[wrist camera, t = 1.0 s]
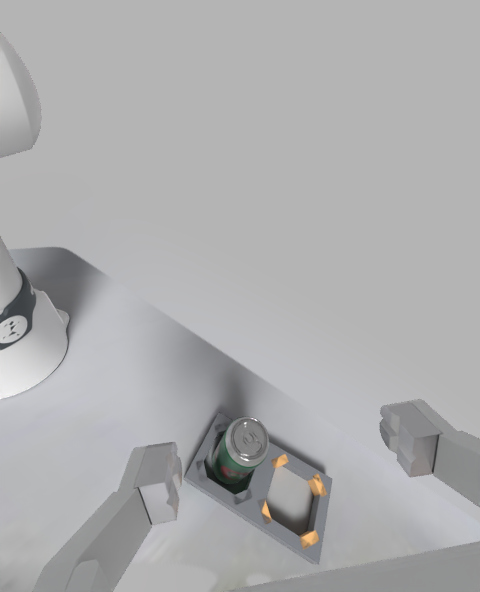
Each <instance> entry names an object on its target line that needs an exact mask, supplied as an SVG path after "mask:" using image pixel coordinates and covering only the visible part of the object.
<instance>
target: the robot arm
mask: <svg viewBox="0 0 480 592" xmlns="http://www.w3.org/2000/svg"><path fill="white" fill-rule="evenodd" d="M40 128H41V106H40V101H39V98H38V93H37V90H36V87H35V85H34V82H33V80H32V78H31V75H30V73H29V72H28V70H27V68H26V66H25V64H24V63H23V61H22V60H21V58H20V57H19V55H18V54H17V52H16V51H15V49H14V48H13V47H12V45H11V44H10V43H9V42H8V41H7V39H6V38H5V37H4V36H3V35H2V34H1V32H0V158H1V157H6V156H9V155H13V154H16V153H20V152H22V151H26V150H30V149H31V148H32V147H33V145H34V144H35V142H36V140H37V138H38V135H39V131H40ZM68 323H69V315H68V314H67V312H65V311H62V310H59V309H56V308H55V307H54V305H53V304H52V302H51V300H50V299H49V297H48V296H47V294H46V293H45V292H44V291H39V290H37V289H34V288H33V286H32V284H31V282H30V281H29V279H28V278H27V277H26V276H25V274H24V273H23V271H22V270H21V269H19V268H18V267H16V265H15V263H14V261H13V259H12V258H11V256H10V254H9V252H8V250H7V248H6V246H5V244H4V243H3V241H2V239H1V237H0V399H2V398H6V397H10V396H13V395H16V394H19V393H21V392H24V391H26V390H28V389H30V388H32V387H33V386H35V385H37V384H38V383H40V382H41V381H43V380H44V379H45V378H47V377H48V376H49V375H50V374H51V373H52V372H53V371H54V370H55V369H56V368H57V367H58V365H59V364H60V363H61V361H62V359H63V358H64V356H65V353H66V350H67V345H68V340H67V335H66V328H67V325H68ZM380 414H381V415H382V417H383V419H382V421H381V422H380V433H381V436H382V439H383V440H384V442H385V444H386V446H387V447H388V448H389V450H391V451H393V452H395V453H396V454H397V461H398V462H399V464H400V465H401V466H402V468H403V469H404V470H405V472H406V473H407V474H408V476H409V477H416V476H423V475H429V474H433V475H434V476H435V477H437V478H438V479H439V480H441V481H442V482H444V483H445V484H447V485H448V486H449V487H451V488H453V489H454V490H455V491H457V492H459V493H460V494H461V495H463V496H464V497H465V498H467V499H468V500H470V501H471V502H473V503H474V504H476V505H477V506H479V507H480V439H479V438H477V437H475V436H472V435H470V434H468V433H465V432H463V431H457V430H456V429H454V428H453V427H452V426H451V425H450V424H449V423H448V422H447V421H446V420H444V419H443V418H442V417H441V416H440V415H439V414H438V413H437V412H435V411H434V410H433V409H432V408H431V407H430V406H429V405H428V404H427V403H426V402H425V401H423V400H421V399H418V400H412V401H407V402H401V403H395V404H390V405H384V406H382V407H381V411H380ZM181 482H182V466H181V460H180V457H178V456H177V446H176V443H175V442H169V443H162V444H155V445H148V446H143V447H136V448H134V449H133V451H132V452H131V455H130V458H129V461H128V463H127V466H126V469H125V472H124V474H123V477H122V480H121V483H120V486H119V488H118V491H117V492H113V493H112V494H111V495H110V496H109V497H108V499H107V500H106V501H105V502H104V503H103V504H102V505H101V506H100V507H99V508H98V509H97V510H96V511H95V513H94V514H93V515H92V516H91V517H90V518H89V519H88V520H87V521H86V522H85V523H84V524H83V526H82V527H81V528H80V529H79V530H78V531H77V532H76V533H75V534H74V535H73V536H72V537H71V539H70V540H69V541H68V542H67V543H66V544H65V545H64V546H63V547H62V548H61V549H60V550H59V552H58V553H57V554H56V555H55V556H54V557H53V558H52V559H51V560H50V561H49V562H48V563H47V565H46V566H45V567H44V568H43V570H42V572H41V574H40V576H39V578H38V581H37V583H36V585H35V587H34V589H33V591H32V592H113V590H114V589H115V587H116V585H117V583H118V582H119V580H120V579H121V577H122V575H123V574H124V572H125V571H126V569H127V567H128V566H129V564H130V562H131V561H132V559H133V557H134V556H135V554H136V552H137V551H138V549H139V547H140V546H141V544H142V543H143V541H144V539H145V538H146V536H147V534H148V533H149V531H150V529H151V528H152V526H151V525H156V524H161V523H165V522H170V521H175V520H176V519H177V512H178V505H179V497H178V493H177V491H178V490H179V488H180V487H181ZM223 592H480V541H479V542H474V543H469V544H464V545H459V546H454V547H449V548H443V549H438V550H433V551H428V552H423V553H418V554H413V555H407V556H402V557H397V558H392V559H387V560H382V561H377V562H371V563H366V564H361V565H356V566H351V567H346V568H341V569H336V570H330V571H325V572H320V573H315V574H310V575H305V576H300V577H295V578H290V579H285V580H279V581H274V582H269V583H264V584H259V585H254V586H249V587H244V588H239V589H233V590H228V591H223Z"/></svg>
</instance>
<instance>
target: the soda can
mask: <svg viewBox="0 0 480 592" xmlns="http://www.w3.org/2000/svg"><path fill="white" fill-rule="evenodd" d="M268 451H269V437H268V433H267V431H266V429H265V427H264V425H263V424H262V423H261V422H260V421H258V420H257V419H255V418H252V417H240V418H237V419H235V420H234V421H233V422H232V423H231V424H230V425H229V426H228V428H227V430H226V432H225V433H224V435H223V437H222V439H221V441H220V442H219V444H218V446H217V448H216V450H215V451H214V454H213V457H212V468H213V471H214V473H215V475H216V477H217V478H218V479H219V480H220V481H221V482H223V483H226V484H235V483H237V482H239V481H240V480H241V479H243V478H244V477H245V476H246V475H248V474H249V473H250V472H251V471H252V470H254V469H255V468H256V467H257V466H258V465H260V464H261V463H262V462H263V461H264V460H265V458H266V456H267V454H268Z"/></svg>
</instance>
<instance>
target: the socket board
mask: <svg viewBox="0 0 480 592" xmlns="http://www.w3.org/2000/svg"><path fill="white" fill-rule="evenodd" d="M232 422H233V420H232V419H230V418H228V417H226V416H225V415H223V414H221V413H220V412H219V413H218V415H217V416H216V418H215V420H214V422H213V424H212V426H211V428H210V430H209V432H208V434H207V435H206V437H205V439H204V441H203V443H202V445H201V447H200V449H199V451H198V452H197V454H196V456H195V458H194V460H193V462H192V464H191V466H190V468H189V469H188V471H187V473H186V475H185V477H184V480H185V481H186V482H188V483H189V484H191V485H193V486H194V487H196V488H197V489H199V490H200V491H202V492H203V493H205V494H206V495H208V496H209V497H211V498H212V499H214V500H215V501H217V502H219V503H220V504H222V505H223V506H225V507H226V508H228V509H229V510H231V511H232V512H234V513H235V514H237V515H238V516H240V517H242V518H243V519H245V520H246V521H248V522H249V523H251V524H252V525H254V526H255V527H257V528H258V529H260V530H261V531H263V532H264V533H266V534H268V535H269V536H271V537H272V538H274V539H275V540H277V541H278V542H280V543H281V544H283V545H284V546H286V547H287V548H289V549H290V550H292V551H294V552H295V553H297V554H298V555H300V556H301V557H303V558H304V559H306V560H307V561H309V562H310V563H312V564H319V561H320V555H321V548H322V542H323V536H324V529H325V523H326V517H327V510H328V504H329V498H330V491H331V485H332V478H330V477H328V476H327V475H325V474H323V473H322V472H320V471H318V470H316V469H315V468H313V467H311V466H310V465H308V464H306V463H305V462H303V461H301V460H300V459H298V458H296V457H294V456H293V455H291V454H289V453H288V452H286V451H284V450H283V449H281V448H279V447H277V446H276V445H274V444H272V443H271V442H269V451H268V454H267V456H266V458H265V460H264V461H263V462H262V463H261V464H260V465H258V466H257V467H256V468H255V469H254V470H252V472H251V474H250V477H249V480H248V483H247V485H246V488H245V491H243V492H240V493H238V494H236V495H234V494H232V493H231V492H229V491H228V490H226V489H225V488H223V487H221V486H220V485H218V484H217V483H215V482H214V481H212V480H210V479H209V478H207V475H206V470H205V466H204V460H205V458H206V456H207V454H208V452H209V450H210V448H211V446H212V444H213V442H214V440H215V438H216V437H217V436H220V435H223V434H224V433H225V432H226V430H227V428H228V426H229V425H230V424H231V423H232ZM280 466H283V467H285V468H287V469H288V470H290V471H292V472H293V473H295V474H297V475H298V476H300V477H302V478H303V479H305V480H307V481H308V483H309V485H310V488H311V490H312V493H313V495H314V499H313V504H312V509H311V514H310V519H309V525H308V530H307V532H305V533H303V534H302V535H300V536H298V535H296V534H295V533H293V532H292V531H290V530H289V529H287V528H285V527H284V526H282V525H281V524H279V523H278V522H276V521H274V520H273V519H271V516H270V513H269V510H268V507H267V504H266V501H265V500H266V497H267V494H268V491H269V487H270V484H271V481H272V477H273V474H274V471H275V469H276V468H278V467H280Z"/></svg>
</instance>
